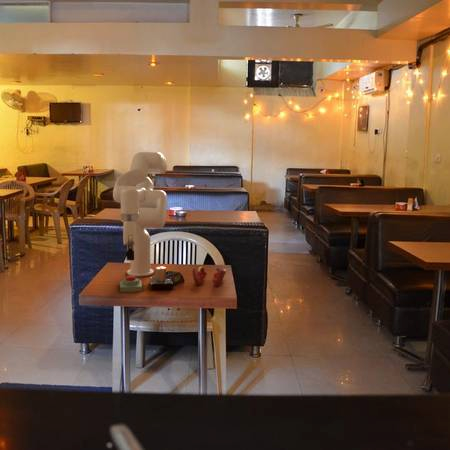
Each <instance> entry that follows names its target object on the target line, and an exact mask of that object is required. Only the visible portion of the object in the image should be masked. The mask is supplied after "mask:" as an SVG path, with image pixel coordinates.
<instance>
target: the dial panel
mask: <svg viewBox="0 0 450 450" xmlns="http://www.w3.org/2000/svg"><path fill="white" fill-rule="evenodd" d="M149 286H150V287H149V288H150V291H151V292H153V291H172V290H173V281H172V278H171V279H166V280H165V281H156V276H149Z"/></svg>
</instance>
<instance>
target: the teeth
mask: <svg viewBox="0 0 450 450" xmlns="http://www.w3.org/2000/svg"><path fill="white" fill-rule="evenodd" d="M226 272H227V269H224V268H221V267H220V266H216V268H215V270H214V273H213V276H212V278H211V282H212V284H213V285H214V286H215V287H220V285H221V284H222V282H223V280H224V278H225V276H226ZM207 275H208V273H207V271H206V269H205V268H204V267H203V266H199V267H197V268H193V269H192V278H193V281H194V284H195V286H199V285H201V284H202V283H203V281H204V280H205V279H206V277H207Z"/></svg>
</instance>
